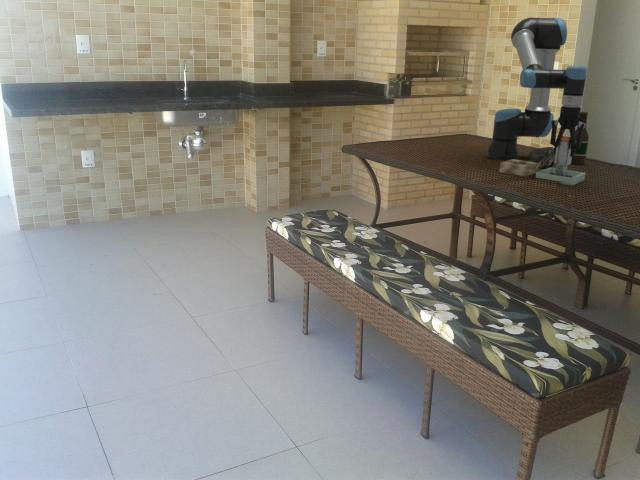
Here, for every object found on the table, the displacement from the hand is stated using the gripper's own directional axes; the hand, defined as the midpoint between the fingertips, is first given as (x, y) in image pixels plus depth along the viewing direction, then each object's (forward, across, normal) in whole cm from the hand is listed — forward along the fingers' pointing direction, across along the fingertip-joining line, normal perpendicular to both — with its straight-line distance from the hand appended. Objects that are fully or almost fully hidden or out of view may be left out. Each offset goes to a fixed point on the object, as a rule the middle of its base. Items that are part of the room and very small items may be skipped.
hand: (562, 163), depth 252 cm
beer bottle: (+7, -8, +41) cm, 42 cm away
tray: (+7, 0, 0) cm, 7 cm away
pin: (+6, 0, 0) cm, 6 cm away
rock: (+7, -15, +16) cm, 23 cm away
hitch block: (+7, -17, -3) cm, 19 cm away
